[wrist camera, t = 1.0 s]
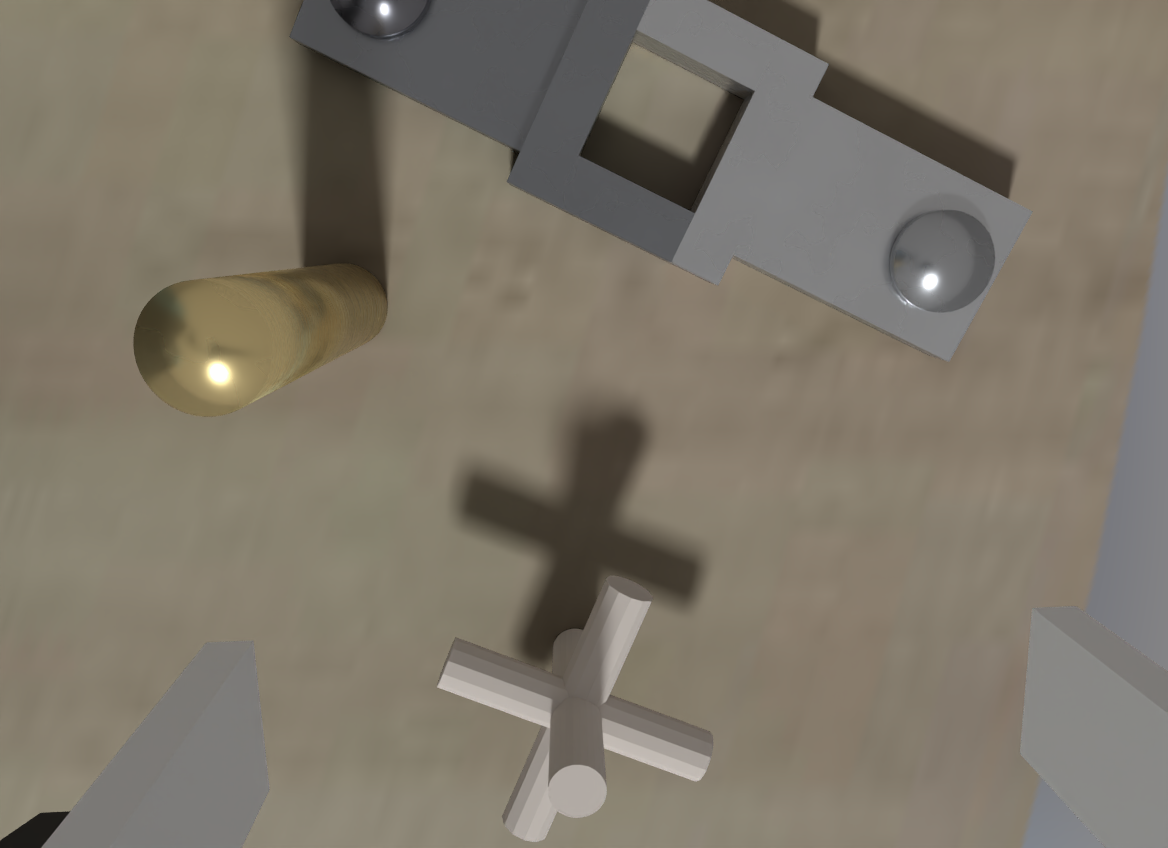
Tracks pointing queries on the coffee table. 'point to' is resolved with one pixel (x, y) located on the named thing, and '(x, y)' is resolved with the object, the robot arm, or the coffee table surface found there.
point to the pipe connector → (577, 713)
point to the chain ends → (740, 170)
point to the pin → (252, 333)
